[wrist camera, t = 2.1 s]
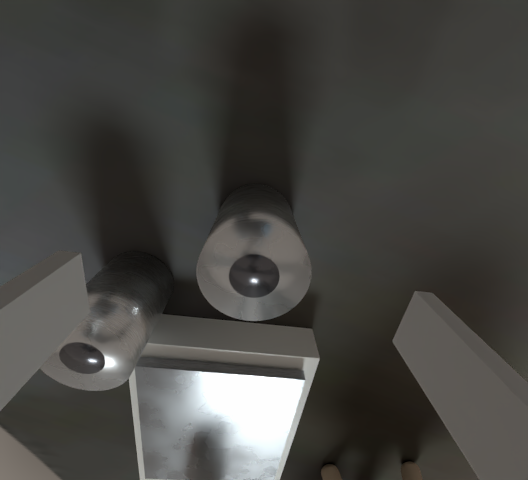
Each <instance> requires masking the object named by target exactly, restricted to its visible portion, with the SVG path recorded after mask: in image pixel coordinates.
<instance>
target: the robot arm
mask: <svg viewBox="0 0 528 480" xmlns="http://www.w3.org/2000/svg"><path fill="white" fill-rule="evenodd" d="M89 313H90V308H89V301H88V295H87V289H86V282H85V276H84V270H83V263H82V257H81V253H77V252H68V251H58V252H56V253H54V254H53V255H51V256H49V257H48V258H46V259H45V260H43V261H41V262H40V263H38V264H36V265H35V266H33V267H32V268H30V269H28V270H27V271H25V272H23V273H22V274H20V275H19V276H17V277H15V278H14V279H12V280H10V281H9V282H7V283H6V284H4V285H2V286H1V287H0V411H1V410H2V408H3V407H4V406H5V405H6V404H7V403H8V402H9V401H10V400H11V399H12V398H13V396H14V395H15V394H16V393H17V392H18V391H19V390H20V389H21V388H22V387H23V385H24V384H25V383H26V382H27V381H28V380H29V379H30V378H31V377H32V376H33V374H34V373H35V372H36V371H37V370H38V369H39V368H40V367H41V366H42V365H43V363H44V362H45V361H46V360H47V359H48V358H49V357H50V356H51V355H52V354H53V352H54V351H55V350H56V349H57V348H58V347H59V346H60V345H61V344H62V343H63V342H64V340H65V339H66V338H67V337H68V336H69V335H70V334H71V333H72V332H73V331H74V329H75V328H76V327H77V326H78V325H79V324H80V323H81V322H82V321H83V320H84V318H85V317H86V316H87V315H88V314H89ZM392 342H393V344H394V345H395V347H396V348H397V350H398V352H399V353H400V355H401V356H402V358H403V359H404V361H405V363H406V364H407V366H408V367H409V369H410V371H411V372H412V374H413V375H414V377H415V378H416V380H417V382H418V383H419V385H420V386H421V388H422V390H423V391H424V393H425V394H426V396H427V398H428V399H429V401H430V402H431V404H432V405H433V407H434V409H435V410H436V412H437V413H438V415H439V417H440V418H441V420H442V421H443V423H444V425H445V426H446V428H447V429H448V431H449V432H450V434H451V436H452V437H453V439H454V440H455V442H456V444H457V445H458V447H459V448H460V450H461V451H462V453H463V455H464V456H465V458H466V459H467V461H468V463H469V464H470V466H471V467H472V469H473V471H474V472H475V474H476V475H477V477H478V478H479V480H528V382H527V381H525V380H524V379H523V378H522V377H521V376H520V375H519V374H518V373H517V372H516V371H515V370H514V369H513V368H512V367H511V366H510V365H509V364H507V363H506V362H505V361H504V360H503V359H502V358H501V357H500V356H499V355H498V354H497V353H496V352H495V351H494V350H493V349H492V348H490V347H489V346H488V345H487V344H486V343H485V342H484V341H483V340H482V339H481V338H480V337H479V336H478V335H477V334H476V333H475V332H473V331H472V330H471V329H470V328H469V327H468V326H467V325H466V324H465V323H464V322H463V321H462V320H461V319H460V318H459V317H458V316H457V315H455V314H454V313H453V312H452V311H451V310H450V309H449V308H448V307H447V306H446V305H445V304H444V303H443V302H442V301H441V300H440V299H438V298H437V297H436V296H435V295H434V294H433V293H429V292H420V291H415V292H414V294H413V296H412V299H411V301H410V303H409V305H408V307H407V310H406V312H405V314H404V316H403V318H402V321H401V323H400V325H399V327H398V329H397V332H396V334H395V336H394V338H393V340H392Z"/></svg>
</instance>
